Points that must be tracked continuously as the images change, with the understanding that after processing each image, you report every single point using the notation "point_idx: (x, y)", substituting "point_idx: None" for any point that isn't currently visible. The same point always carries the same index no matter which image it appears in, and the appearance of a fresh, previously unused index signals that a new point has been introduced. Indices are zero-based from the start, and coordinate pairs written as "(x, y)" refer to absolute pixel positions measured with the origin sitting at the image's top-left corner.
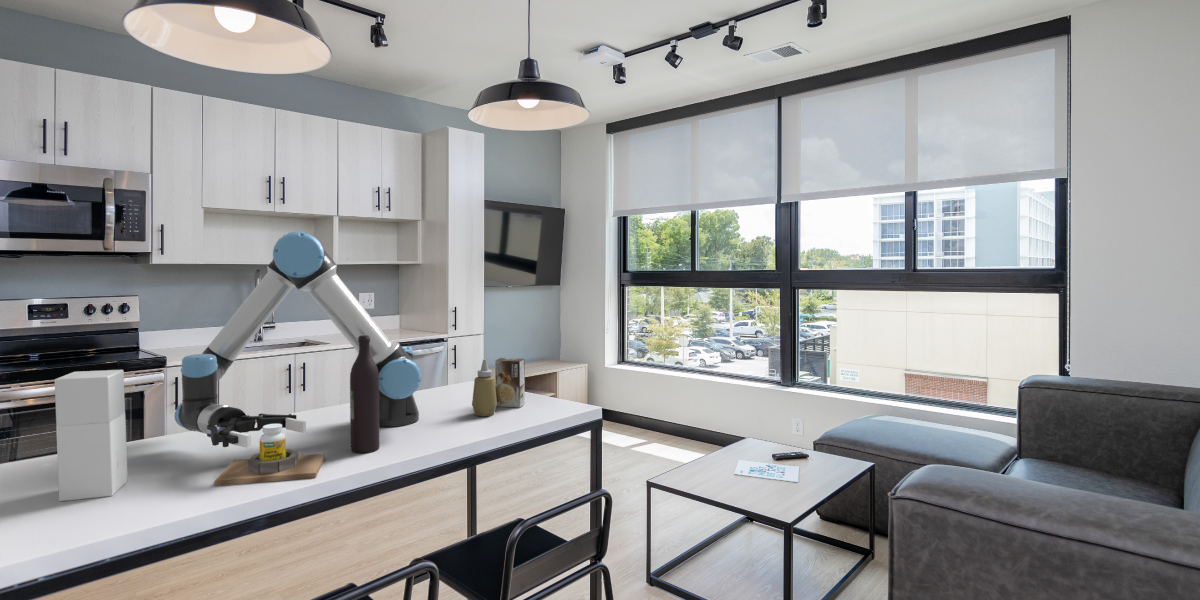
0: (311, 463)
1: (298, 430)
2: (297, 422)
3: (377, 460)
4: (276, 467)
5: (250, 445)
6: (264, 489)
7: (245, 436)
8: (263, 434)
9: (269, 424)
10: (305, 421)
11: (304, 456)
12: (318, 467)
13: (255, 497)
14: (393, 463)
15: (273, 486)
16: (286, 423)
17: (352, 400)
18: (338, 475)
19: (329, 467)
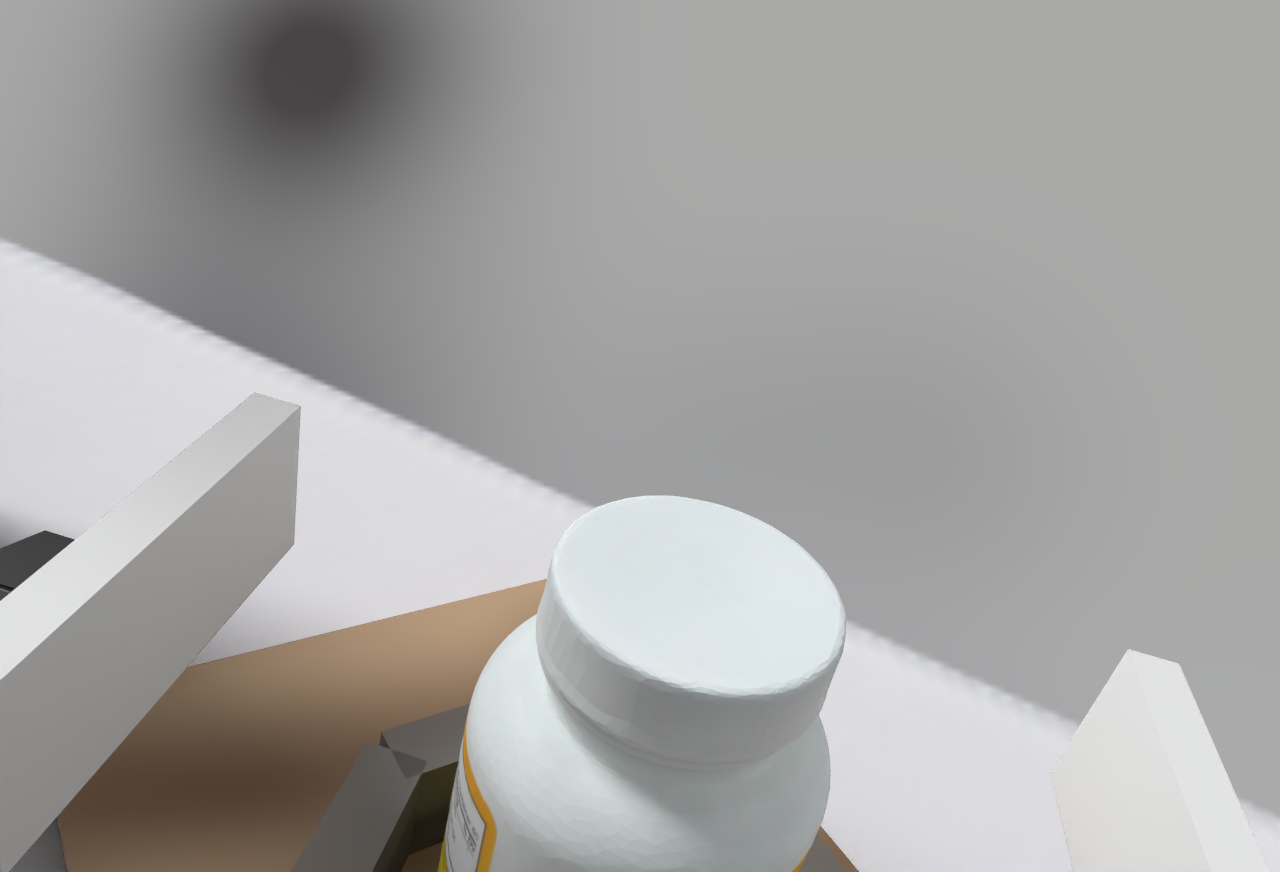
0: (401, 676)
1: (236, 591)
2: (226, 497)
3: (159, 414)
4: None
5: (1067, 756)
6: (931, 788)
7: (1186, 706)
8: (734, 803)
9: (656, 654)
10: (261, 395)
11: (148, 854)
12: (476, 600)
13: (1050, 756)
14: (232, 350)
15: (855, 764)
16: (3, 772)
17: None
18: (508, 508)
19: (348, 606)
